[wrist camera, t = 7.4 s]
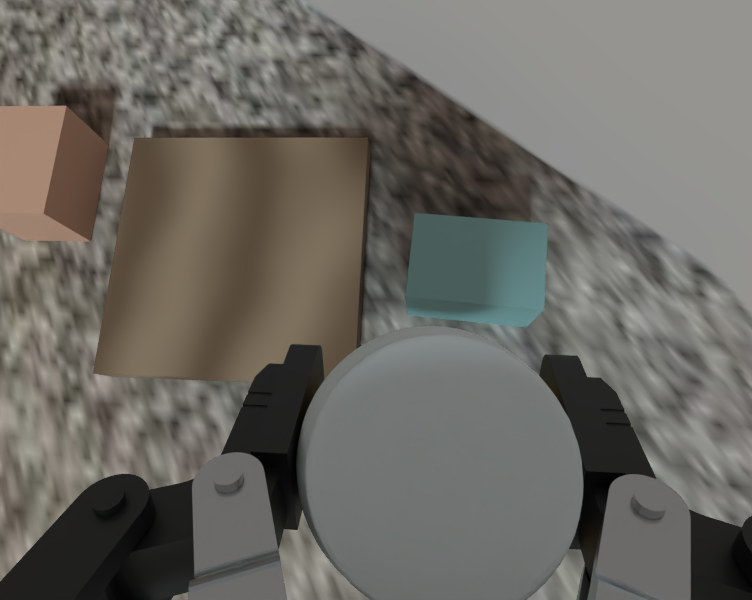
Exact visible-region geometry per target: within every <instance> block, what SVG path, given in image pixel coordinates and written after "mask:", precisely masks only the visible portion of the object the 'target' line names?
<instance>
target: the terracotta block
mask: <svg viewBox="0 0 752 600" xmlns="http://www.w3.org/2000/svg"><path fill="white" fill-rule="evenodd" d="M108 147H109V145H108V144H107V143H106V142H105V141H104V140H103V139H102V138H100V137H99V136H98V135H97V134H96V133H95V132H94V131H93V130H92V129H91V128H90V127H89V126H88V125H87V124H85V123H84V122H83V121H82V120H81V119H80V118H79V117H78V116H77V115H76V114H75V113H74V112H73V111H71V110H70V109H69V108H68V107H67V106H0V229H2V230H4V231H6V232H8V233H10V234H12V235H14V236H16V237H18V238H20V239H22V240H36V241H91V238H92V233H93V227H94V222H95V217H96V211H97V206H98V201H99V195H100V190H101V185H102V179H103V174H104V169H105V163H106V158H107V153H108Z"/></svg>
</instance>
